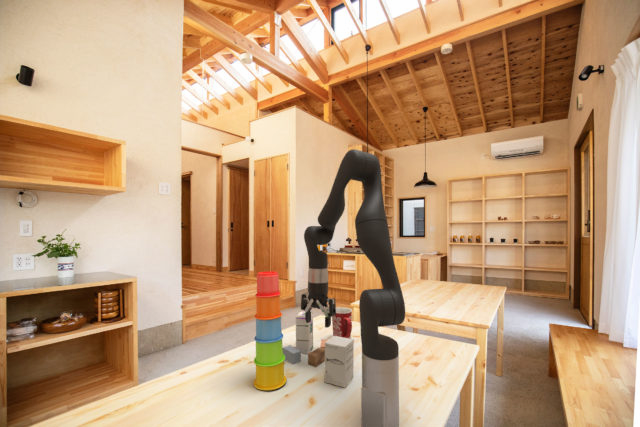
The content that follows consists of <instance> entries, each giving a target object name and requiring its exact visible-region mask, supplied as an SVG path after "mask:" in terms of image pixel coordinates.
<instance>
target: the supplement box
mask: <svg viewBox="0 0 640 427" xmlns="http://www.w3.org/2000/svg"><path fill="white" fill-rule="evenodd" d="M327 340H328V341H326V342H325V362H324V383H326V384H331V385H335V386H338V387H341V388H344V389H345V388H347V386H348V385H349V384H350V382H351V381H352V380H353V378H354V347H355V346H354V343H355V342H354V341H355V340H354V339H353V338H351V339H349V338H344V337H339V336H331V337H329V339H327Z"/></svg>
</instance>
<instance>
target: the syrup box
mask: <svg viewBox="0 0 640 427" xmlns="http://www.w3.org/2000/svg"><path fill="white" fill-rule="evenodd" d="M310 312H311V322H309V323H307V322H306V320H305V311H299V312H298V313H297V315H296V316H295V348H297V349H298V350H300V351H301V354H304V355H308V353H310V352H312V351H313V349H314V315H313V312H312V311H310Z"/></svg>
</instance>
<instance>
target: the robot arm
mask: <svg viewBox="0 0 640 427" xmlns="http://www.w3.org/2000/svg"><path fill="white" fill-rule="evenodd" d="M380 163H381V162H380V160H379V158H378V157H377V156H376V155H375V154H372V153H370V152H365V151H362V150H359V149H355V148H354V149H349V150H348V151H347V152H346V153H345V155H344V156H343V157H342V160H341V162H340V164H339V167H338V169H337V173H336V176H335V177H334V179H333V184H332V186H331V190H330V192H329V195H328V197H327V200H326V202H325V203H324V205H323V207H322V208H321V211H320V212H319V214H318V216H317V222H318V223H317V224H319V225H310V226H308V227H306V228H305V230H304V234H303V240H304V243H305V244H304V245H305V247H306V252H307V255H308V270H307V292H305V293H303V294H301V295H300V296H301V297H300V298H301V299H300V309H301V311H303V312H305V320H306V322H307V323H309V322H311V312H312V309H318V310H320V311H321V312H322V313H323V314H324V316H325V317H324V328H330V327H331V325H332V324H331V323H332V316H334V315H336V308H337V307H336V302H337V301H336V298H335V297H333V298H331V297H330V298H329V296H328V295H329V270H328V268H329V266H328V260H329V259H328V253H327V252H325V251H321V250H320V249H319V247H318V246H322V245H323V246H326V245H328V244H329V243H330V242H332V240H333V238H334V235H335V230H336V226H337V224H338V222H339V220H340V219H341V218H342V216H343V214H344V212H345V207H346V198H345V191H346V187H347V186H348V184H349V183H350V182H351V181H356V182H361V183H362V187H363V195H364V196H363V200H362V202H361V205H360V206H359V209H358V211H357V214H356V216H355V219H354V227H355V228H354V229H355V233H356V234H355V235H356V241H357V245H358V246H359V248H360V250H361V251H362V253H363V255H365V256H366V257H367V259H368V260H369V261H370V262H371V264H372V265H373V267H374V268H375V269H376V271H377V274H378V276H379V279H380V282H381V284H382V288H369V289H364V290H362V291H361V293H360V296H359V306H358V307H359V308H358V309H359V324H360V339H361V340H360V342H361V394H360V397H361V398H360V399H361V402H360V403H361V413H360V414H361V427H400V374H399V373H400V370H399V367H400V365H399V364H400V363H399V362H400V361H399V358H400V357H399V354H400V353H399V352H400V351H399V350H400V349H399V348H400V347H399V343H398V342H397V341H396V340H395V339H394V338H392V337H390V336H388V335H386V334H385V335H384V334H381V333H380V332H379V327H389V326H392V327H393V326H399V325H401V324H403V323H404V321H405V319H406V306H405V300H404V299H405V298H404V294H403V290H402V287H401V283H400V279H399V276H398V273H397V269H396V264H395V260H394V254H393V250H392V249H393V248H392V243H391V236H390V229H389V225H388V224H389V223H388V219H387V213H386V208H385V201H384V194H383V185H382V184H383V183H382V169H381V164H380Z"/></svg>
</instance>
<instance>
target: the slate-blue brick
mask: <svg viewBox="0 0 640 427" xmlns="http://www.w3.org/2000/svg"><path fill="white" fill-rule="evenodd" d="M283 354H284V355H285V360H284V361H286V362H288V363H290V364H292V365H296V364H298V363H301V362H302V353H301V351H300V350H298V349H297V348H296V346H295V347H294V346H292V344H289V345H285V346H283Z"/></svg>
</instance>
